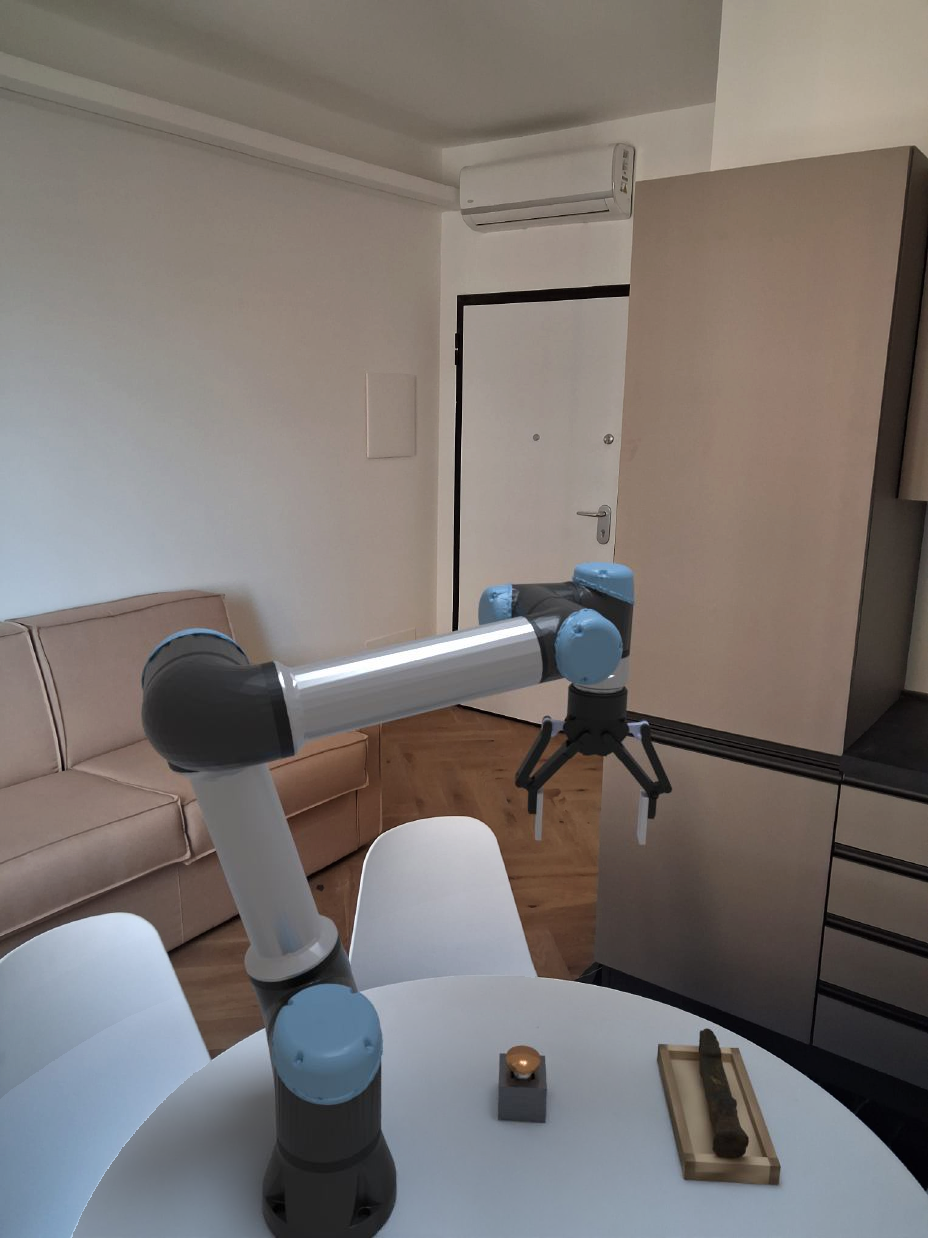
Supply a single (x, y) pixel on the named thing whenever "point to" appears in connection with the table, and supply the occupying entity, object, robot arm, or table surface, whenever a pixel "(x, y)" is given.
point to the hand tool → (720, 1100)
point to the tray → (696, 1126)
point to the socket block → (522, 1094)
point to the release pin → (522, 1061)
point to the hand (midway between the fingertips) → (589, 838)
